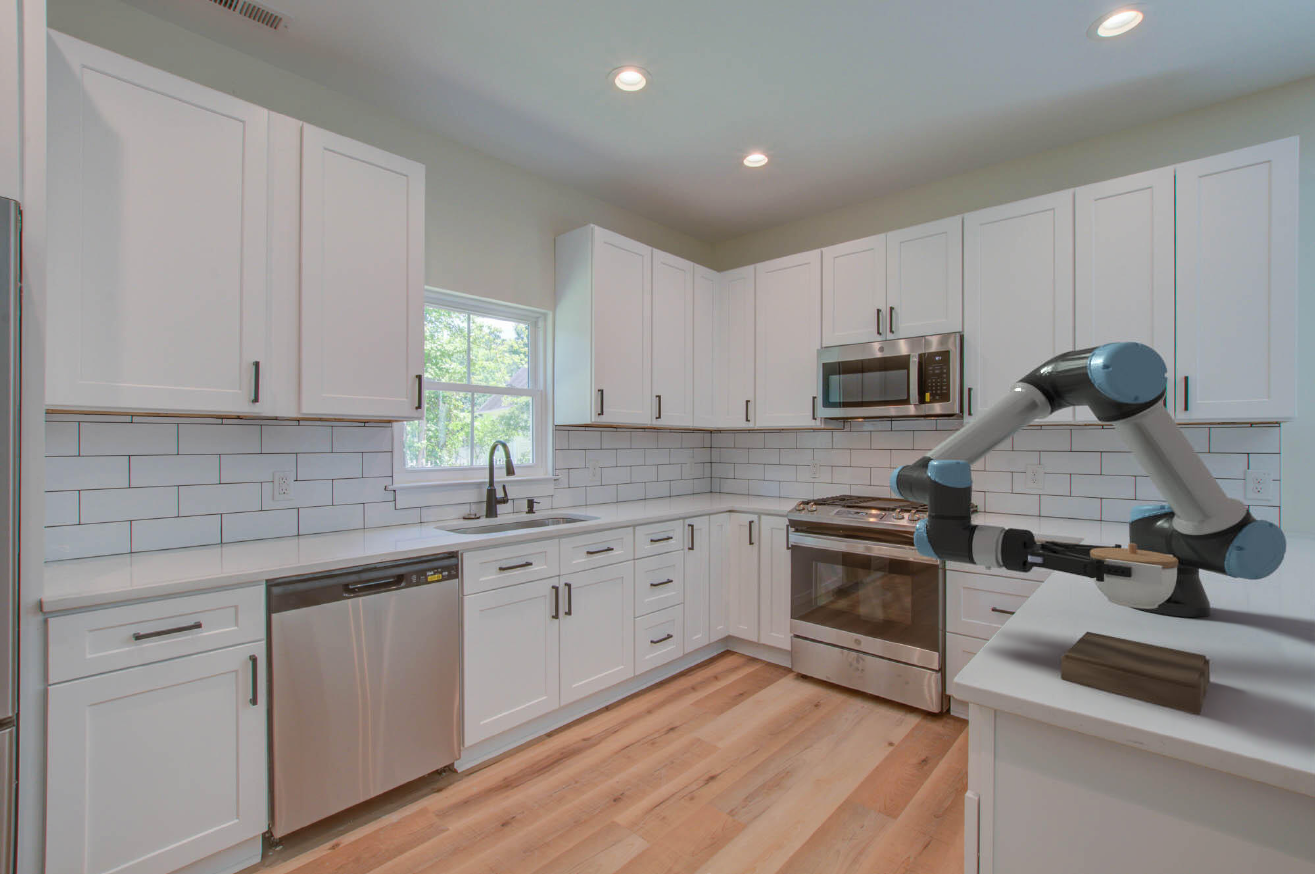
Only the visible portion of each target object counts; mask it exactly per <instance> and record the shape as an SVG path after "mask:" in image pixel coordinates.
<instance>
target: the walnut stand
mask: <svg viewBox="0 0 1315 874" xmlns="http://www.w3.org/2000/svg"><path fill="white" fill-rule="evenodd" d="M1206 657H1207V656H1206V654H1205V655H1204V654H1201V653H1194V652H1191V651H1185V650H1181V649H1175V648H1170V647H1165V646H1160V645H1155V644H1150V643H1145V642H1140V641H1135V640H1130V639H1126V638H1121V637H1116V636H1111V635H1107V634H1102V633H1095V632H1092V631H1086V632H1085V633H1084V634H1083V635H1082V636H1081V637H1080V638H1079V639H1078V640H1077V641H1076V642H1075V643H1074V644H1073V645H1072V646H1071V647H1070V648H1069V649H1068V650H1067V651H1066V652H1065V653H1064V654H1063V655H1062V656H1060V665H1061V666H1060V679H1061V680H1063V681H1068V682H1071V683H1074V684H1079V685H1083V686H1086V687H1090V688H1094V689H1097V690H1102V691H1106V692H1109V693H1113V694H1118V695H1122V696H1125V697H1129V698H1133V699H1137V700H1141V701H1143V702H1148V703H1152V704H1156V705H1159V706H1164V707H1167V708H1172V709H1175V710H1180V711H1183V712H1186V713H1190V714H1195V715H1200V713H1201V711H1202V707H1203V704H1204V701H1205V699H1206V698H1205V697H1206V695H1207V691H1208V688H1209V685H1210V684H1209V683H1210V680H1211V679H1210V678H1211V676H1210V671H1211V670H1210V669H1211V668H1210V658H1209V659H1208V658H1206ZM1208 684H1209V685H1208Z"/></svg>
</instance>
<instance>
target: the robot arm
mask: <svg viewBox="0 0 1315 874" xmlns="http://www.w3.org/2000/svg"><path fill="white" fill-rule="evenodd" d="M1167 373H1168V368H1167V365H1166V363H1165V360H1164V359H1163V358H1162V356H1161V355H1160V354H1159V353H1158V352H1157V351H1156V350H1155V349H1153V347H1150V346H1148V345H1147V344H1144V343H1141V342H1133V341H1123V342H1119V341H1118V342H1109V343H1105V344H1103V345H1098V346H1094V347H1088V348H1083V349H1078V350H1071V351H1070V350H1069V351H1066V352H1063V353H1060V354H1058V355H1056V356H1053V357H1052V358H1050V359H1049V360H1047V361H1045V362H1043V363H1042V364H1040V365H1039V366H1038V367H1036V368H1034V369H1033V370H1032V371H1030V372H1029V373H1027V374H1025V375H1024V376H1023V377H1022V378H1020V379H1019V380H1018V381H1016V382H1015V383H1014V384H1012V385H1011V387H1010V389H1009V390H1010V392H1009V393H1008V394H1006V395H1005V396H1004V397H1003V398H1001V399H1000V400H999V401H997V402H996V403H994V404H993V405H991V406H990V407H989V408H987V409H986V410H984V411H983V412H982V413H981V414H979V415H978V416H977V417H976V418H974V419H973V420H971V421H970V422H968V423H967V424H965V426H963V427H961V428H960V429H959V430H958V431H956V432H955V433H954V434H953V435H951V436H949V437H947V438H946V439H945V440H944V441H942V442H941V443H940V444H939V445H936V446H935V447H934V448H933V449H931V450H930V451H929V452H928V453H926V454H925V455H922V457H920V458H919V459H918V460H916V461H915V462H914V463H911V464H904V465H901V466H899V467H897V468H895V469H894V470H893V472H892V473H891V474H890V477H889V486H890V489H891V492H893V494H894V495H895V496H897V497H898V498H900V499H902V500H903V499H904V500H905V501H908V502H914V503H915V502H916V503H920V504H924V505H927V518H922V519H919V521H918V522H917V523H916V525H915V532H914V533H913V545H914V547H915V550H916V551H917V552H918V554H919V555H920V556H923V557H928V558H931V559H936V560H939V561H945V562H946V561H947V562H953V563H960V564H969V565H975V566H980V567H981V566H984V568H985V570H987V571H990V570H991V569H992V568H996V569H1003V568H1004V569H1005V570H1007V571H1012V572H1019V573H1026V574H1027V573H1029V572H1031V570H1033V568H1041V569H1047V570H1052V571H1056V572H1062V573H1066V574H1070V575H1075V576H1080V577H1084V578H1089V579H1093V578H1096V581H1099V582H1104V574H1106V577H1108V578H1115V579H1121V580H1128V581H1135V582H1142V583H1149V584H1156V585H1162V566H1158V565H1150V564H1142V563H1135V562H1126V561H1119V560H1111V559H1106V564H1104V560H1101V559H1095V558H1091V557H1090V551H1091V550H1092V549H1096V548H1122V544H1119V543H1115V544H1114V545H1113V546H1109V545H1095V544H1084V543H1083V544H1082V543H1071V542H1070V543H1068V542H1059V541H1054V540H1052V541H1051V540H1050V541H1049V540H1046V541H1045V542H1040V543H1037V542H1036V540H1035V535H1034V533H1033V532H1032V531H1031V530H1029V529H1022V528H1013V527H1009V528H1008V529H1007V528H1005V526H996V525H988V524H975V523H972V499H973V497H972V495H973V493H972V492H973V479H972V466H974V465H975V464H976V463H978V462H979V461H981V460H982V459H983V458H985V457H986V456H987V455H989V454H990V453H991V452H993V451H994V450H995V449H997V448H998V447H1000V446H1001V445H1002V444H1004V443H1005V442H1007V441H1008V440H1010V438H1012V437H1014V436H1015V435H1017V433H1019V432H1020V431H1022V430H1023V429H1024V428H1026V427H1027V426H1029V425H1030V424H1031V423H1032V422H1034V421H1035V420H1044V419H1047V418H1048V417H1049V416H1050V415H1052V414H1054V413H1056V412H1057V411H1060V410H1063V409H1068V408H1071V407H1080V406H1081V407H1082V406H1084V407H1085V406H1087V407H1088V408H1089V410H1090V411H1091V412H1092V413H1093V415H1094V416H1095V418H1096V420H1098V422H1099V423H1102V424H1107V425H1112V426H1113V428H1114V429H1115V430H1116V433H1118V435H1119V436H1120V438H1121V439H1122V441H1123V442H1124V443H1125V445H1126V446H1127V447H1128V449H1129V450H1130V452H1131V453H1132V455H1133V456H1134V458H1135V459H1136V460H1137V462H1138V463H1139V465H1140V466H1141V467H1142V469H1143V470H1144V472H1145V473H1146V474H1147V476H1148V478H1149V479H1150V480H1151V482H1152V483H1153V484H1154V486H1155V487H1156V489H1157V490H1158V492H1159V493H1160V495H1162V497H1163V499H1164V500H1165V502H1166V503H1167V504H1137V505H1134V506H1133V507H1132V508H1131V510H1130V513H1129V514H1130V515H1129V517H1130V518H1129V521H1128V526H1129V527H1128V529H1129V530H1128V531H1129V533H1128V534H1129V535H1128V537H1129V543H1132V544H1137V550H1144V551H1151V552H1157V553H1162V554H1166V555H1170V556H1173V557H1175V558H1177V559H1178V566H1177V579H1176V584H1175V588H1174V591H1173V592H1172V594H1171V596H1170V597H1169V598H1168V599H1167V600H1165V601H1164V602H1163V603H1161V604H1159V605H1158V607H1157V608H1154V609H1141V608H1135V609H1137V610H1141V611H1145V612H1149V613H1154V614H1159V615H1165V616H1166V615H1167V616H1173V617H1174V616H1175V617H1184V618H1202V617H1208V616H1209V615H1211V603H1210V600H1209V598H1208V595H1207V593H1206V590H1205V587H1204V586H1203V583H1202V581H1201V578H1200V570H1203V571H1207V572H1211V573H1215V574H1220V575H1222V576H1226V577H1227V576H1228V577H1231V578H1234V579H1237V578H1238V579H1245V580H1251V581H1252V580H1256V581H1257V580H1262V579H1265V578H1267V577H1270V576H1271V575H1272V574H1273V573H1275V572H1276V571H1277V570H1278V569H1279V567H1280V566H1281V564H1282V563H1283V561H1284V559H1285V555H1286V552H1287V539H1286V536H1285V533H1284V531H1283V530H1282V528H1281V527H1280V526H1278V525H1277V524H1275V523H1273V522H1271V521H1268V520H1266V519H1256V518H1255V516H1253V514H1252V513H1251V512H1250V510H1249V508H1248V507H1247V506H1246V504H1245V503H1244V502H1243V501H1242V500H1240V499H1237V498H1233V497H1229V496H1227V494H1226V492H1225V491H1224V490H1223V488H1222V487H1221V486H1220V484H1219V483H1218V482H1217V480H1216V479H1215V477H1214V476H1213V474H1212V473H1211V471H1210V470H1209V468H1208V467H1207V466H1206V464H1205V463H1204V461H1203V460H1202V459H1201V457H1200V455H1199V454H1198V453H1197V451H1196V450H1195V449H1194V447H1193V446H1192V444H1191V443H1190V441H1189V439H1188V438H1187V437H1186V436H1185V434H1184V433H1183V431H1182V430H1181V428H1180V427H1179V426H1178V424H1177V423H1176V421H1175V419H1173V417H1172V415H1171V414H1170V413H1169V411H1168V409H1167V408H1166V407H1165V406H1164V404H1163V401H1164V399H1165V398H1166V395H1167V391H1166V390H1165V388H1166V386H1167V382H1168V377H1167V376H1166V374H1167Z"/></svg>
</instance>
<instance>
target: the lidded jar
mask: <svg viewBox="0 0 1315 874" xmlns="http://www.w3.org/2000/svg"><path fill="white" fill-rule="evenodd" d="M1090 557H1091V558H1095V559H1101V560H1104V564H1106V559H1111V560H1119V561H1126V562H1135V563H1142V564H1150V565H1158V566H1162V585H1156V584H1149V583H1142V582H1135V581H1128V580H1121V579H1115V578H1108V577H1106V574H1104V582H1099V581H1096V578H1092V579H1093V582H1094V583H1095V586H1096V588H1098V590H1099V591H1100V592H1101V593H1102V594H1103V596H1105V597H1106V598H1107V601H1108V602H1110V603H1113V604H1115V605H1118V606H1123V607H1128V608H1134V609H1136V608H1141V609H1154V608H1157V607H1158V605H1159V604H1161V603H1163V602H1164V601H1165V600H1167V599H1168V598H1169V597H1170V596H1171V594H1172V592H1173V591H1174V588H1175V584H1176V579H1177V566H1178V559H1177V558H1175V557H1173V556H1170V555H1166V554H1162V553H1157V552H1151V551H1144V550H1137V544H1132V543H1130V542H1128V547H1127V548H1124V547H1123V548H1122V547H1121V548H1096V549H1092V550H1091V551H1090Z"/></svg>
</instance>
